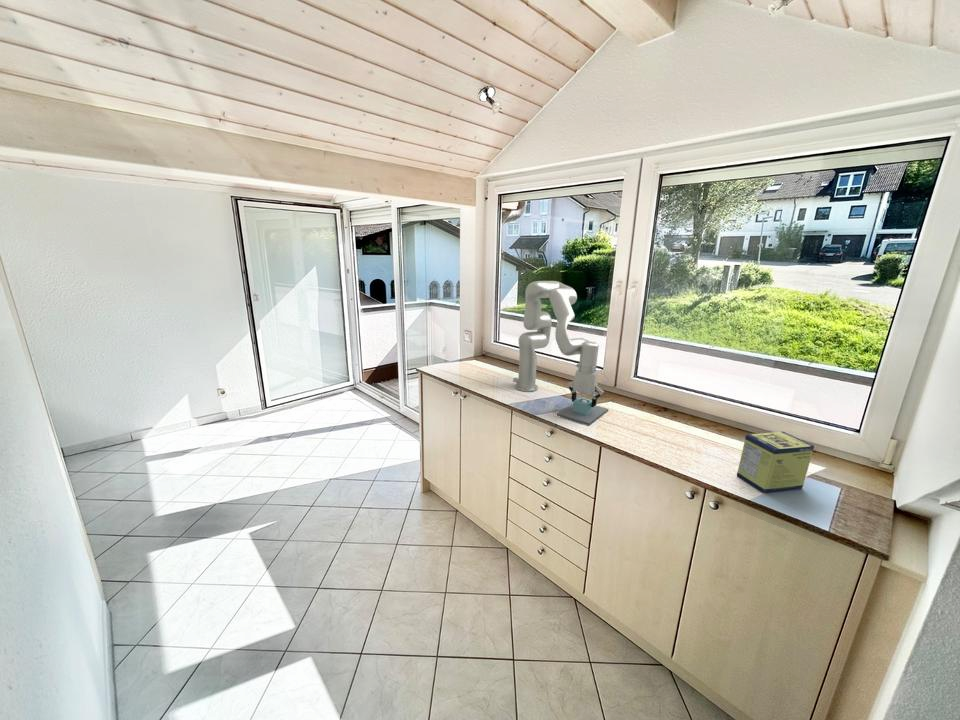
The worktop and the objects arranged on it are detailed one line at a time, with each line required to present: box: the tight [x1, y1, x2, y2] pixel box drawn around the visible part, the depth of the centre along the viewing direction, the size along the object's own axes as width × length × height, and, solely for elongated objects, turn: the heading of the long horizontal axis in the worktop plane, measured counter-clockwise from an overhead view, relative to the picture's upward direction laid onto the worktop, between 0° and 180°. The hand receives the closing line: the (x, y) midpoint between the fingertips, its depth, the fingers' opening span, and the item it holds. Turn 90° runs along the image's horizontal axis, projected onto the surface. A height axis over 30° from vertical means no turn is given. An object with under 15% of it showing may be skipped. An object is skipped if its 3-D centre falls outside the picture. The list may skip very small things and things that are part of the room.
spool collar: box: [572, 396, 593, 415], centre depth 175 cm, size 7×7×5 cm
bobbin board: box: [555, 400, 609, 426], centre depth 175 cm, size 16×22×6 cm
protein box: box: [736, 431, 815, 494], centre depth 122 cm, size 10×16×16 cm
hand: (583, 403), depth 175 cm, fingers open, 9 cm apart
